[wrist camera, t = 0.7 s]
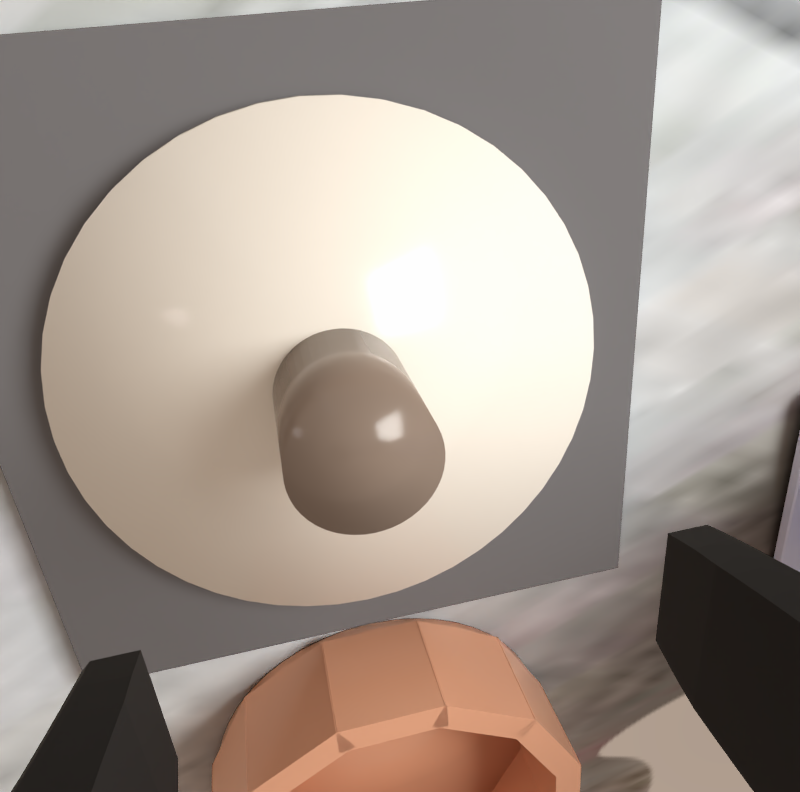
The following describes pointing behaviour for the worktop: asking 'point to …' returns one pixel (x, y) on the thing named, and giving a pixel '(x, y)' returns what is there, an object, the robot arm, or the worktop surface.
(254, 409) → the lid
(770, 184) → the worktop surface
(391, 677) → the bowl
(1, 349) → the mat
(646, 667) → the worktop surface
